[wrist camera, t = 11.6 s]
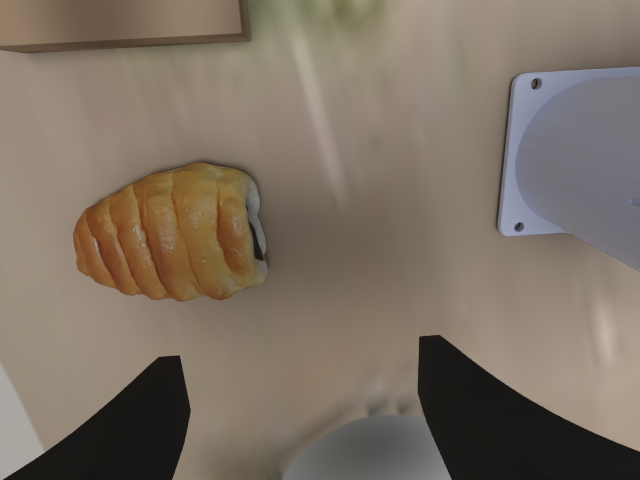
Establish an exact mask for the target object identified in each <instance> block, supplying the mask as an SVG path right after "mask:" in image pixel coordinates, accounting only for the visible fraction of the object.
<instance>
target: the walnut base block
mask: <svg viewBox="0 0 640 480" xmlns="http://www.w3.org/2000/svg"><path fill="white" fill-rule="evenodd" d="M239 41H251V39H250V29H249V19H248V9H247V0H0V50H3V51H12V52H20V53H36V52H54V51H73V50H91V49H110V48H128V47H147V46H165V45H184V44H202V43H221V42H239Z"/></svg>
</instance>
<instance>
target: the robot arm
mask: <svg viewBox="0 0 640 480" xmlns="http://www.w3.org/2000/svg"><path fill="white" fill-rule="evenodd" d="M535 78H536V80H537V82H538V84H537V87H536V88H535V89H532V88H531V82H532V80H533V79H535ZM519 222H520V224H521V225H520V227H519V228H518V229H514V227H515V225H516V224H517V223H519ZM497 227H498V231H499V232H500V233H501V234H502V235H504V236H523V235H538V234H554V233H570V234H572V235H574V236H576V237H578V238H579V239H581V240H583V241H585V242H587V243H589V244H590V245H592V246H594V247H596V248H598V249H599V250H601V251H603V252H605V253H607V254H609V255H610V256H612V257H614V258H616V259H618V260H619V261H621V262H623V263H625V264H627V265H629V266H630V267H632V268H634V269H636V270H638V271H639V272H640V67H623V68H605V69H587V70H570V71H552V72H534V73H522V74H519V75H517V76H516V77H515V78H514V80H513V82H512V86H511V96H510V106H509V116H508V126H507V136H506V146H505V156H504V165H503V175H502V185H501V195H500V205H499V215H498V225H497ZM418 395H419V398H420V402H421V405H422V409H423V412H424V415H425V418H426V421H427V424H428V427H429V428H430V431H431V433H432V436H433V438H434V440H435V443H436V445H437V447H438V450H439V452H440V454H441V456H442V458H443V461H444V463H445V465H446V468H447V470H448V472H449V474H450V477H451V479H452V480H640V452H639V451H637V450H634V449H631V448H629V447H626V446H624V445H621V444H619V443H616V442H614V441H611V440H609V439H607V438H604V437H602V436H600V435H597V434H595V433H593V432H591V431H589V430H587V429H584V428H582V427H580V426H578V425H576V424H574V423H572V422H570V421H568V420H566V419H564V418H562V417H560V416H558V415H556V414H554V413H552V412H550V411H549V410H547V409H545V408H543V407H542V406H540V405H538V404H536V403H534V402H533V401H531V400H529V399H528V398H526V397H524V396H523V395H521V394H519V393H518V392H516V391H515V390H513V389H512V388H510V387H509V386H507V385H506V384H504V383H503V382H501V381H500V380H498V379H497V378H495V377H494V376H493V375H491V374H490V373H488V372H487V371H486V370H484V369H483V368H482V367H480V366H479V365H478V364H476V363H475V362H474V361H472V360H471V359H470V358H468V357H467V356H466V355H465V354H463V353H462V352H461V351H460V350H458V349H457V348H456V347H454V346H453V345H452V344H451V343H449V342H448V341H447V340H446V339H444V338H443V337H442V336H440V335H432V336H420V337H419V366H418ZM190 412H191V409H190V404H189V399H188V394H187V389H186V384H185V379H184V374H183V369H182V364H181V359H180V355H178V356H165V357H158V358H157V359H156V360H155V361H154V362H153V363H151V364H150V365H149V366H148V367H147V368H146V369H145V370H144V371H143V372H142V373H141V374H140V375H138V376H137V377H136V378H135V379H134V380H133V381H132V382H131V383H130V384H129V385H128V386H127V387H125V388H124V389H123V390H122V391H121V392H120V393H119V394H118V395H117V396H116V397H114V398H113V399H112V400H111V401H110V402H109V403H108V404H106V405H105V406H104V407H103V408H102V409H100V410H99V411H98V412H97V413H96V414H94V415H93V416H92V417H91V418H90V419H88V420H87V421H86V422H85V423H84V424H82V425H81V426H80V427H79V428H78V429H76V430H75V431H74V432H72V433H71V434H70V435H68V436H67V437H66V438H64V439H63V440H62V441H60V442H59V443H58V444H56V445H55V446H53V447H52V448H51V449H49V450H48V451H46V452H45V453H44V454H42V455H41V456H39V457H38V458H36V459H35V460H33V461H32V462H30V463H29V464H27V465H25V466H24V467H22V468H21V469H19V470H18V471H16V472H14V473H13V474H11V475H10V476H8V477H7V478H5V479H3V480H172V479H173V476H174V473H175V470H176V467H177V464H178V461H179V458H180V455H181V452H182V449H183V446H184V442H185V437H186V433H187V428H188V423H189V417H190Z"/></svg>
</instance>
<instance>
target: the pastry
mask: <svg viewBox="0 0 640 480" xmlns="http://www.w3.org/2000/svg"><path fill="white" fill-rule="evenodd" d="M259 208H260V198H259V195H258V188H257V186H256V184H255V183H254V181H253V180H252V179H251V177H250V176H249V175H248V174H246V173H244V172H242V171H240V170H237V169H234V168H229V167H222V166H217V165H212V164H208V163H202V162H200V163H192V164H190V165H187V166H184V167H181V168H177V169H172V170H169V171H165V172H159V173H154V174H150V175H148V176H146V177H145V178H143V179H141V180H139V181H136V182H134V183H132V184H130V185H129V186H127V187H126V188H124V189H122V190H120V191H118V192H116V193H113V194H111V195H109V196H108V197H106V198H105V199H103V200H101V201H99V202H98V203H96V204H95V205H93V206H91V207H89V208H87V209H86V210H85V211H84V212H83V214H82V215H81V217H80V218H79V220H78V221H77V223H76V227H75V230H74V233H73V238H74V246H75V251H76V254H77V258H76V264H77V268H78V270H79V271H80V272H82V273H83V274H85V275H86V276H89V277H91V278H93V279H94V281H95V282H96V283H99V284H101V285H105V286H108V287H112V288H115V289H118V290H119V291H120V292H121V293H123V294H125V295H131V296H133V295H137V294H144V295H146V296H148V297H149V298H150V299H152V300H160V299H165V298H173V299H175V300H176V301H179V302H183V301H188V300H191V299H194V298H196V297H198V296H206V295H207V296H209V297H210V298H212V299H215V300H222V299H227V298H229V297H231V296H232V295H233V294H235V293H236V292H238V291H240V290H242V289H244V288H246V287H249V286H260V285H261V284H263V283H264V282H265V280H266V277H267V275H268V267H267V263H266V260H265V257H264V254H265V253H266V241H265V235H264V233H263V231H262V226H261V223H260V220H259V218H258V211H259Z"/></svg>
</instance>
